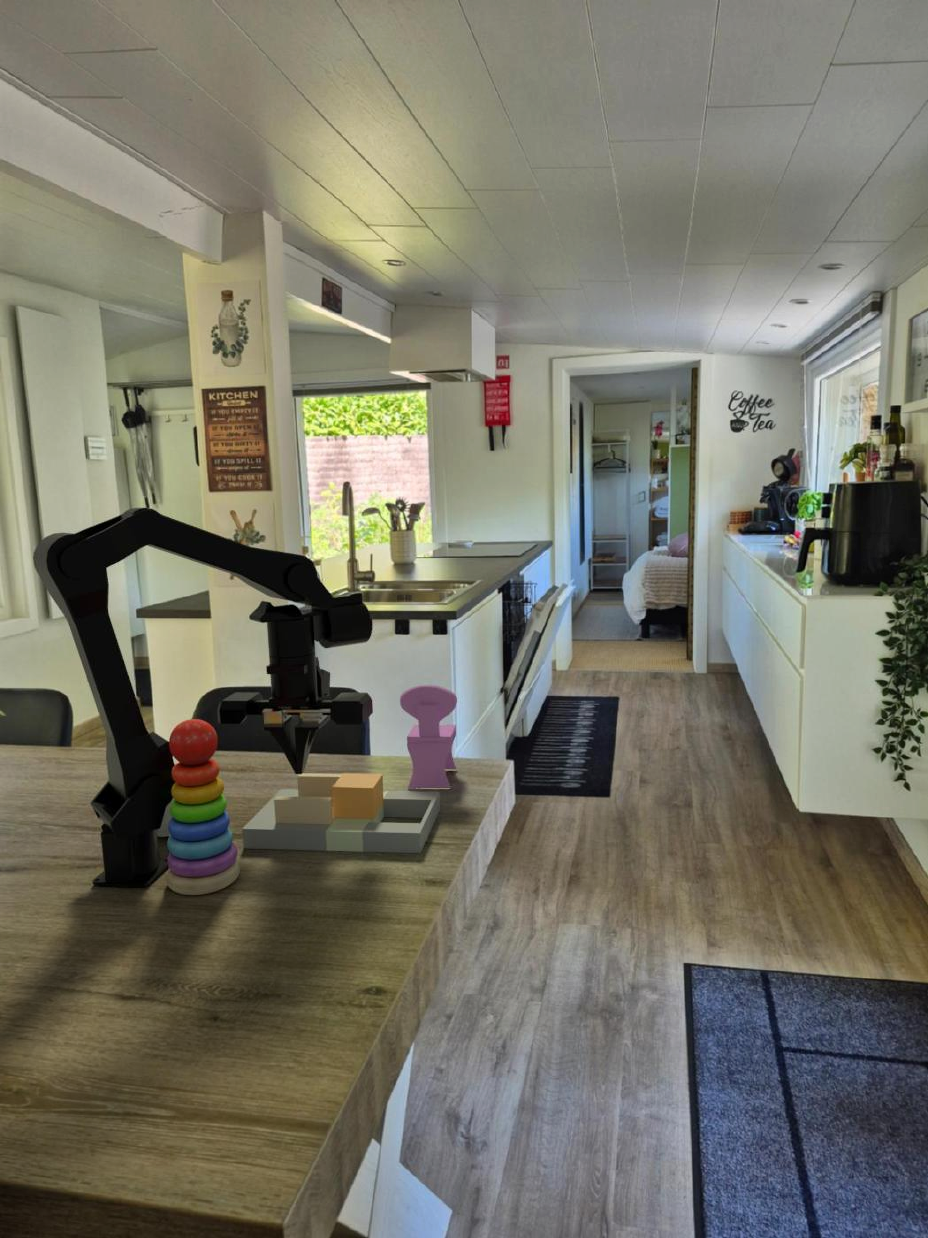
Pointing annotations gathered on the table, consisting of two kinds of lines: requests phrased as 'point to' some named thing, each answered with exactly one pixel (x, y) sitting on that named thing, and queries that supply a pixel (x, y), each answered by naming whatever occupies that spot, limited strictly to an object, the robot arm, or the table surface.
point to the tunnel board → (339, 821)
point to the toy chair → (430, 735)
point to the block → (357, 796)
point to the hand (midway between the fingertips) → (299, 773)
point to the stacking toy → (198, 815)
